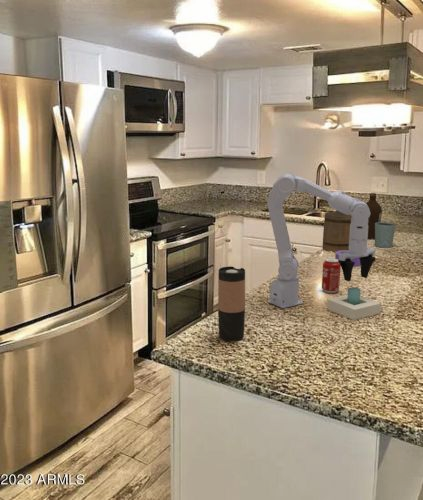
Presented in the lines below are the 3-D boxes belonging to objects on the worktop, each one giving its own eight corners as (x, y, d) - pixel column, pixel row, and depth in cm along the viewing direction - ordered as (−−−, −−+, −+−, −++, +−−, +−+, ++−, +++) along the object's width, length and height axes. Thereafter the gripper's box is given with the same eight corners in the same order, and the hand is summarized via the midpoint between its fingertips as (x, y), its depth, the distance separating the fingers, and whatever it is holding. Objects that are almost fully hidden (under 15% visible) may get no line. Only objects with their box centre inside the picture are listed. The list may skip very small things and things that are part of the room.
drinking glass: (370, 244, 265) (371, 222, 262) (387, 244, 267) (389, 221, 264) (379, 248, 255) (381, 225, 253) (397, 248, 257) (399, 225, 254)
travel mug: (222, 343, 141) (222, 274, 136) (214, 333, 148) (214, 267, 143) (248, 340, 143) (249, 272, 138) (239, 330, 150) (240, 265, 145)
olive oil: (360, 239, 279) (363, 194, 273) (359, 235, 289) (362, 192, 283) (380, 240, 276) (383, 194, 271) (379, 236, 286) (382, 192, 281)
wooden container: (358, 251, 250) (361, 207, 245) (331, 253, 246) (333, 208, 241) (343, 245, 264) (345, 203, 259) (317, 247, 260) (319, 204, 255)
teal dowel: (352, 312, 163) (353, 291, 161) (344, 308, 167) (345, 288, 165) (362, 310, 165) (363, 290, 163) (353, 306, 168) (354, 286, 167)
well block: (354, 320, 158) (354, 309, 157) (326, 309, 168) (327, 299, 167) (380, 313, 164) (381, 303, 163) (352, 303, 174) (353, 293, 173)
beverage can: (326, 287, 191) (328, 257, 189) (341, 290, 187) (343, 259, 185) (318, 291, 186) (320, 260, 184) (334, 294, 183) (336, 262, 180)
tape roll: (363, 267, 220) (364, 256, 219) (336, 266, 222) (336, 255, 221) (360, 261, 232) (360, 250, 230) (333, 260, 233) (334, 249, 232)
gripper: (351, 243, 157) (348, 285, 160) (383, 238, 164) (380, 278, 168) (335, 239, 163) (332, 279, 166) (367, 235, 170) (364, 273, 173)
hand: (355, 278), depth 167 cm, fingers open, 7 cm apart
